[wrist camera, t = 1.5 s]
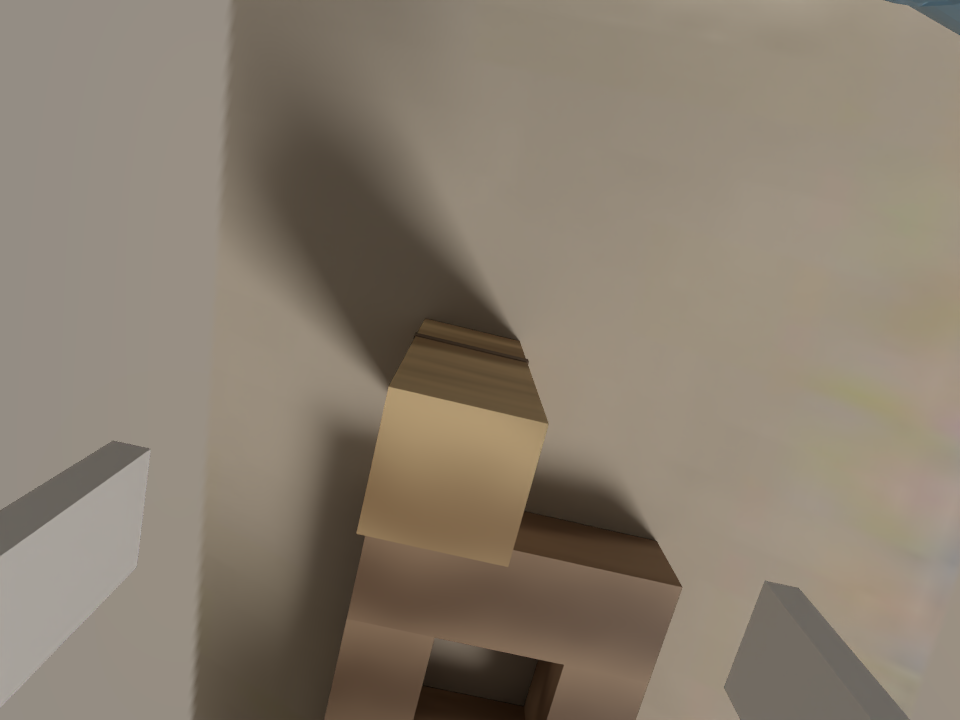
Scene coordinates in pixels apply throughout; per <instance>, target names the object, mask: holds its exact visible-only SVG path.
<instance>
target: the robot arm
mask: <svg viewBox="0 0 960 720" xmlns="http://www.w3.org/2000/svg"><path fill="white" fill-rule="evenodd" d="M885 1H889V2H892V3H897V4H904V5H909V6H910V7H912V8H914V9H915V10H917V11H919V12H921V13H922V14H924V15H926V16H927V17H929V18H931V19H933V20H934V21H936V22H938V23H940V24H941V25H943V26H945V27H946V28H948V29H950V30H952V31H953V32H955V33H957V34H958V35H960V0H885ZM150 452H151V449H149V448H145V447H140V446H135V445H131V444H126V443H122V442H117V441H112V442H110V443H108V444H107V445H105V446H104V447H102V448H100V449H99V450H97V451H95V452H94V453H92V454H91V455H89V456H87V457H86V458H84V459H83V460H81V461H79V462H78V463H76V464H74V465H73V466H71V467H70V468H68V469H66V470H65V471H63V472H62V473H60V474H58V475H57V476H55V477H53V478H52V479H50V480H49V481H47V482H45V483H44V484H42V485H41V486H39V487H37V488H36V489H34V490H32V491H31V492H29V493H28V494H26V495H24V496H23V497H21V498H19V499H18V500H16V501H15V502H13V503H11V504H10V505H8V506H7V507H5V508H3V509H2V510H0V707H1V706H2V705H3V704H4V703H5V702H6V701H7V700H8V699H9V698H10V697H11V696H12V695H13V694H14V693H15V692H16V691H17V690H18V689H19V688H20V687H21V686H22V685H23V684H24V683H25V682H26V681H27V680H28V678H29V677H30V676H31V675H32V674H33V673H34V672H35V671H36V670H37V669H38V668H39V667H40V666H41V665H42V664H43V663H44V662H45V661H46V660H47V659H48V658H49V657H50V656H51V655H52V654H53V653H54V652H55V651H56V650H57V649H58V648H59V647H60V646H61V645H62V643H64V641H65V640H66V639H67V638H68V637H69V636H70V635H71V634H72V633H73V632H74V631H75V630H76V629H77V628H78V627H79V626H80V625H81V624H82V623H83V622H84V621H85V620H86V619H87V618H88V617H89V616H90V615H91V614H92V613H93V612H94V611H95V609H97V607H99V606H100V604H101V603H102V602H103V601H104V600H105V599H106V598H107V597H108V596H109V595H110V594H111V593H112V592H113V591H114V590H115V589H116V588H117V587H118V586H119V585H120V584H121V583H122V582H123V581H124V580H125V579H126V578H127V577H128V576H129V575H130V573H131V572H133V570H135V569H136V567H137V563H138V554H139V546H140V537H141V529H142V520H143V510H144V503H145V494H146V486H147V476H148V468H149V460H150ZM724 688H725V690H726V692H727V694H728V696H729V698H730V700H731V702H732V704H733V706H734V708H735V710H736V712H737V714H738V716H739V718H740V720H910V719H909V718H908V717H907V716H906V714H905V713H904V712H903V711H902V710H901V709H900V707H899V706H898V705H897V704H896V703H895V701H894V700H893V699H892V698H891V697H890V695H889V694H888V693H887V692H886V691H885V690H884V688H883V687H882V686H881V685H880V684H879V682H878V681H877V680H876V679H875V678H874V677H873V675H872V674H871V673H870V672H869V671H868V669H867V668H866V667H865V666H864V665H863V664H862V662H861V661H860V660H859V659H858V658H857V656H856V655H855V654H854V653H853V652H852V650H851V649H850V648H849V647H848V646H847V645H846V643H845V642H844V641H843V640H842V639H841V637H840V636H839V635H838V634H837V633H836V632H835V630H834V629H833V628H832V627H831V626H830V624H829V623H828V622H827V621H826V620H825V619H824V617H823V616H822V615H821V614H820V613H819V611H818V610H817V609H816V608H815V607H814V605H813V604H812V603H811V602H810V601H809V600H808V598H807V597H806V596H805V595H804V594H803V592H802V591H801V590H800V589H799V588H796V587H792V586H787V585H782V584H778V583H773V582H768V581H765V582H764V584H763V587H762V589H761V592H760V595H759V597H758V600H757V602H756V605H755V608H754V610H753V613H752V615H751V618H750V621H749V623H748V626H747V628H746V631H745V634H744V636H743V639H742V641H741V644H740V647H739V649H738V652H737V654H736V657H735V660H734V662H733V665H732V667H731V670H730V673H729V675H728V678H727V681H726V683H725V686H724Z"/></svg>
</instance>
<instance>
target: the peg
mask: <svg viewBox="0 0 960 720" xmlns="http://www.w3.org/2000/svg"><path fill="white" fill-rule="evenodd" d="M528 363H529V361H528V359H526V358H525V355H524V352H523V349H522V347H521V344H520V341H517V340H513V339H509V338H504V337H500V336H496V335H492V334H488V333H484V332H480V331H475V330H471V329H467V328H463V327H459V326H455V325H450V324H446V323H442V322H438V321H434V320H430V319H426V318H425V320H424V322H423V323H422V325H421V327H420V329H419V331H418V333H415V335H414V340H413V342H412V344H411V346H410V348H409V350H408V351H407V353H406V355H405V357H404V359H403V361H402V363H401V365H400V366H399V368H398V370H397V372H396V374H395V376H394V378H393V379H392V381H391V383H390V385H389V387H388V392H387V396H386V401H385V406H384V410H383V415H382V419H381V424H380V428H379V433H378V437H377V442H376V446H375V451H374V456H373V460H372V465H371V469H370V474H369V478H368V483H367V487H366V492H365V496H364V501H363V506H362V510H361V515H360V519H359V524H358V528H357V533H356V534H359V535H364V536H369V537H373V538H378V539H382V540H387V541H391V542H396V543H400V544H405V545H410V546H414V547H419V548H423V549H428V550H432V551H437V552H442V553H446V554H451V555H455V556H460V557H464V558H469V559H473V560H478V561H483V562H487V563H492V564H496V565H501V566H505V567H508V566H509V562H510V559H511V555H512V552H513V548H514V545H515V541H516V538H517V534H518V531H519V527H520V524H521V520H522V516H523V513H524V509H525V506H526V502H527V499H528V495H529V492H530V488H531V485H532V481H533V478H534V474H535V470H536V467H537V463H538V460H539V456H540V453H541V449H542V446H543V442H544V439H545V435H546V432H547V428H548V425H549V424H548V421H547V418H546V415H545V412H544V409H543V406H542V404H541V401H540V398H539V395H538V392H537V389H536V387H535V384H534V381H533V378H532V375H531V372H530V369H529V367H528Z"/></svg>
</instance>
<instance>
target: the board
mask: <svg viewBox="0 0 960 720" xmlns="http://www.w3.org/2000/svg"><path fill="white" fill-rule="evenodd" d="M681 590H682V586H681V584H680V582H679V580H678V578H677V577H676V575H675V573H674V571H673V569H672V568H671V566H670V564H669V562H668V561H667V559H666V557H665V555H664V553H663V552H662V550H661V548H660V546H659V544H658V543H657V541H654V540H649V539H645V538H641V537H636V536H632V535H627V534H623V533H618V532H614V531H609V530H605V529H600V528H596V527H592V526H587V525H583V524H578V523H574V522H569V521H565V520H560V519H556V518H552V517H547V516H543V515H538V514H534V513H529V512H525V511H524V513H523V516H522V520H521V524H520V527H519V531H518V534H517V538H516V541H515V545H514V548H513V552H512V555H511V559H510V562H509V566H508V567H505V566H501V565H496V564H492V563H487V562H483V561H478V560H473V559H469V558H464V557H460V556H455V555H451V554H446V553H442V552H437V551H432V550H428V549H423V548H419V547H414V546H410V545H405V544H400V543H396V542H391V541H387V540H382V539H378V538H373V537H369V536H365V539H364V543H363V548H362V552H361V557H360V561H359V566H358V570H357V575H356V579H355V584H354V588H353V593H352V597H351V602H350V606H349V610H348V615H347V619H346V624H345V628H344V633H343V637H342V642H341V646H340V651H339V655H338V660H337V664H336V669H335V673H334V678H333V682H332V686H331V691H330V695H329V700H328V704H327V709H326V713H325V718H324V720H636V717H637V714H638V712H639V709H640V706H641V703H642V700H643V697H644V695H645V692H646V689H647V686H648V683H649V680H650V678H651V675H652V672H653V669H654V666H655V664H656V661H657V658H658V655H659V652H660V649H661V647H662V644H663V641H664V638H665V635H666V633H667V630H668V627H669V624H670V621H671V618H672V616H673V613H674V610H675V607H676V604H677V602H678V599H679V596H680V593H681ZM434 638H439V639H444V640H449V641H454V642H458V643H463V644H468V645H473V646H477V647H482V648H487V649H491V650H496V651H501V652H506V653H510V654H515V655H520V656H525V657H529V658H534V659H538V663H537V666H536V669H535V672H534V676H533V679H532V682H531V686H530V689H529V692H528V695H527V699H526V702H525V705H524V707H523V706H518V705H513V704H509V703H504V702H499V701H494V700H489V699H484V698H479V697H475V696H470V695H465V694H460V693H455V692H450V691H446V690H441V689H436V688H431V687H426V686H422V684H423V680H424V677H425V673H426V669H427V665H428V661H429V657H430V654H431V650H432V646H433V642H434Z"/></svg>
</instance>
